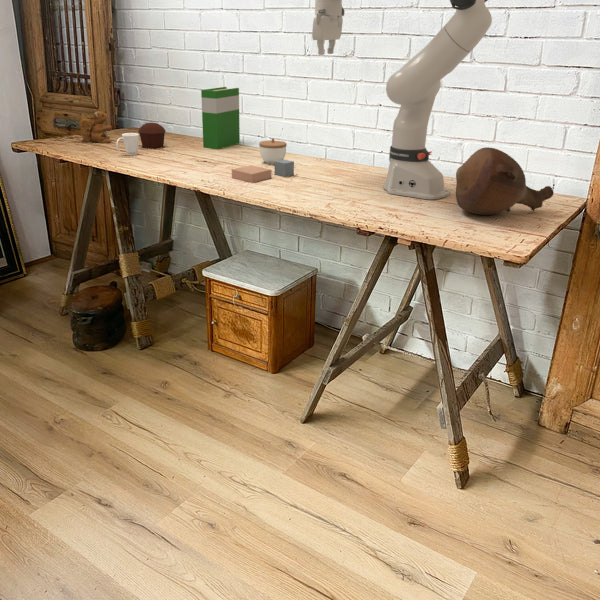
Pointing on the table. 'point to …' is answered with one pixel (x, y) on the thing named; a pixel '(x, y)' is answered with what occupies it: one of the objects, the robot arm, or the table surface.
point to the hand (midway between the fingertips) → (325, 54)
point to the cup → (130, 143)
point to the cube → (284, 168)
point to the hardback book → (220, 117)
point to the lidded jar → (272, 151)
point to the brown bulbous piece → (495, 184)
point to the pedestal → (251, 173)
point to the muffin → (152, 135)
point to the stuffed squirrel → (95, 128)
